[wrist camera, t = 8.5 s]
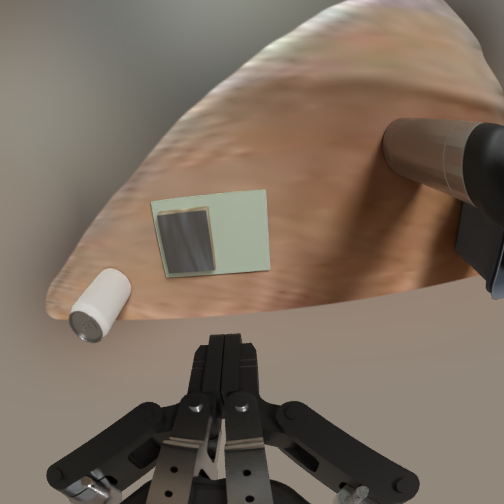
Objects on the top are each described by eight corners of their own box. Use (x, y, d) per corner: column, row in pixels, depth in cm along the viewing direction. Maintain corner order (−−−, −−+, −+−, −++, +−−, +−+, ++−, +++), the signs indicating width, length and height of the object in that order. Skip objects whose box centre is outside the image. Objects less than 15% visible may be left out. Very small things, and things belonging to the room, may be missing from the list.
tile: (206, 209, 35) (156, 215, 35) (215, 270, 39) (168, 274, 39) (208, 205, 37) (159, 211, 37) (216, 265, 40) (171, 268, 40)
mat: (265, 189, 37) (265, 190, 36) (269, 267, 42) (270, 269, 41) (152, 201, 37) (150, 202, 36) (167, 275, 42) (166, 277, 41)
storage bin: (456, 149, 34) (517, 165, 21) (502, 160, 34) (553, 177, 21) (441, 262, 43) (486, 303, 29) (486, 256, 43) (527, 288, 30)
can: (93, 271, 41) (58, 311, 30) (122, 263, 40) (89, 305, 30) (109, 302, 44) (81, 346, 33) (138, 296, 43) (113, 343, 32)
